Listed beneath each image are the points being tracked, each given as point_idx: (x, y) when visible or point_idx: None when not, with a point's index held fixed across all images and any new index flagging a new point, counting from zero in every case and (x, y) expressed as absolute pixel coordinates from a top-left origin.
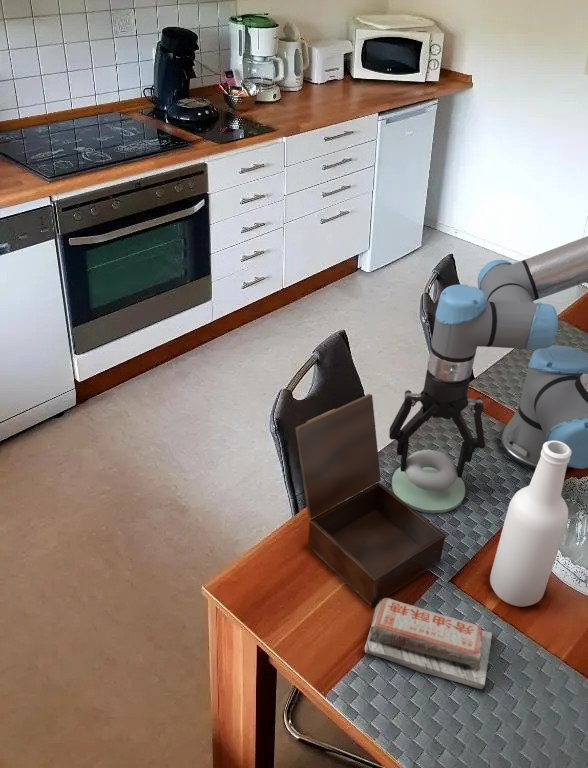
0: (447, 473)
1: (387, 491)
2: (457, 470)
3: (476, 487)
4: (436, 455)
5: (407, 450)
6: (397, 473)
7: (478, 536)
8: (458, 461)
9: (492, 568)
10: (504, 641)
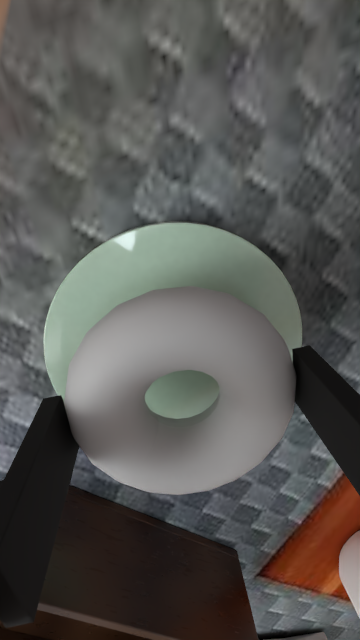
0: (260, 451)
1: (54, 613)
2: (296, 373)
3: (337, 291)
4: (200, 360)
5: (45, 568)
6: (55, 340)
7: (323, 466)
8: (312, 377)
9: (357, 601)
10: (344, 624)
